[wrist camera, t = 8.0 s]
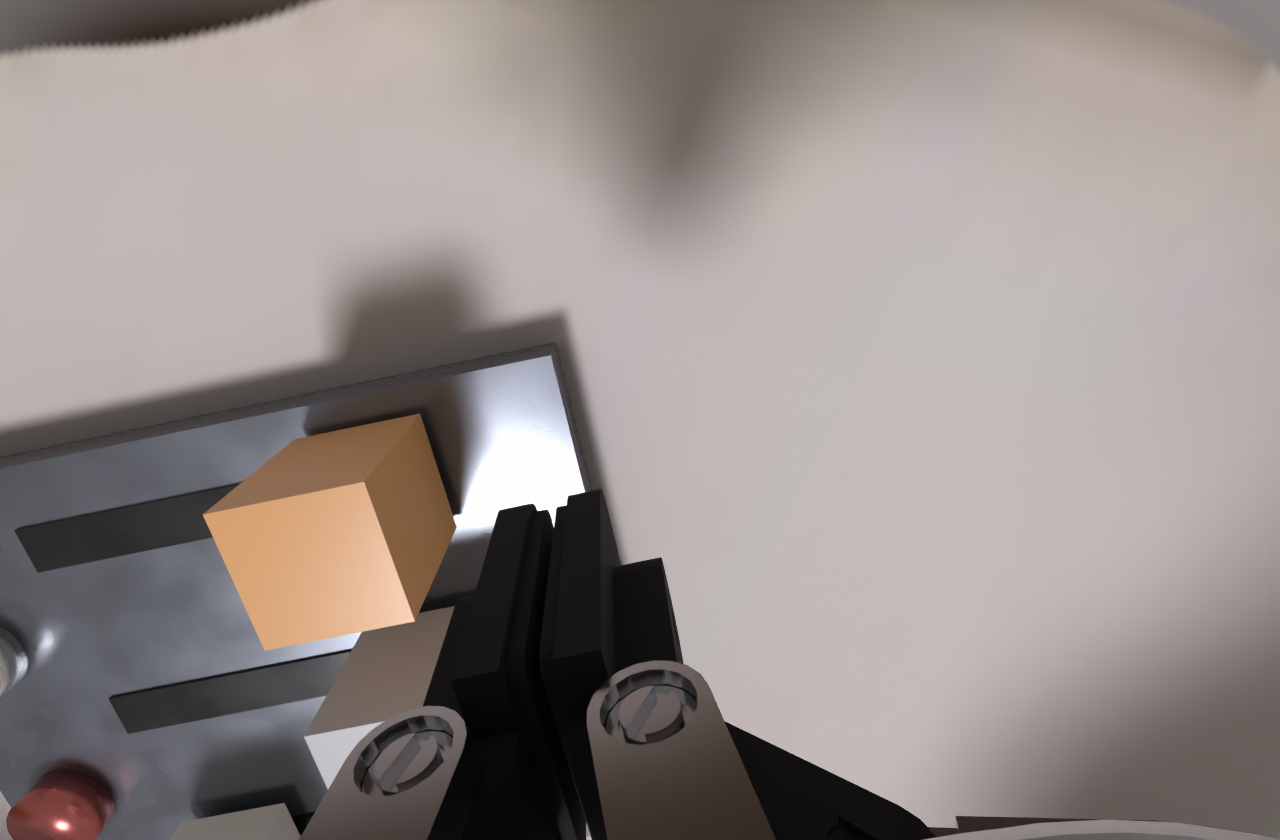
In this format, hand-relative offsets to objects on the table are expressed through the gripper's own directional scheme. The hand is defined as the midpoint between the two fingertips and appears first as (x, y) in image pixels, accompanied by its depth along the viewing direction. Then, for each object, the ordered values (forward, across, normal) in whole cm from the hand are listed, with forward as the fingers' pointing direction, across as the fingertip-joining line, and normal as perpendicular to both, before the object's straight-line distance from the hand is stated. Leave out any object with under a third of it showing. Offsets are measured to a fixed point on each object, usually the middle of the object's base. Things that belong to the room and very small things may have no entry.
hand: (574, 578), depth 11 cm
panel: (+10, +11, +7) cm, 16 cm away
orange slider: (+8, +6, +1) cm, 10 cm away
